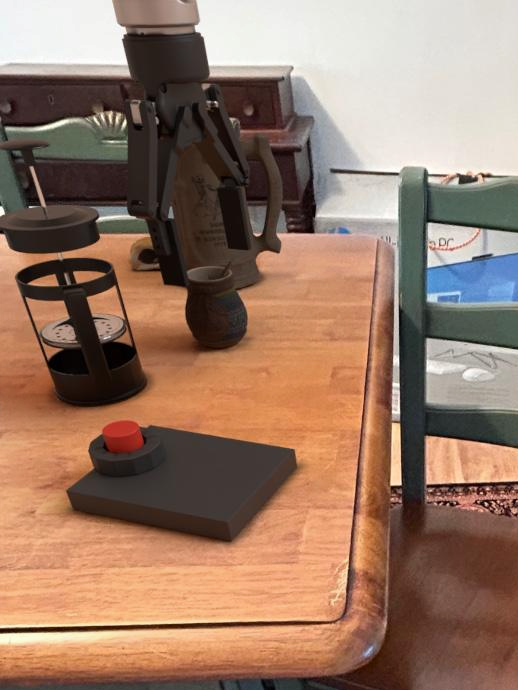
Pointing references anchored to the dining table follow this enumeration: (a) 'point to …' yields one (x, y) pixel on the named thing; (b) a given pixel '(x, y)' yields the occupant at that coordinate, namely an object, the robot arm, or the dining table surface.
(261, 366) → the dining table surface
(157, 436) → the scale
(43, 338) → the french press
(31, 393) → the dining table surface
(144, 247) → the pastry
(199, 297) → the mate gourd
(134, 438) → the button
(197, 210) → the beer stein
